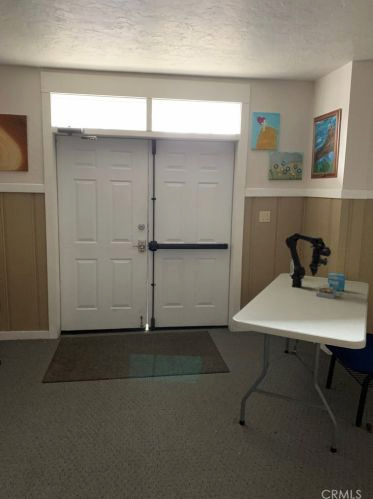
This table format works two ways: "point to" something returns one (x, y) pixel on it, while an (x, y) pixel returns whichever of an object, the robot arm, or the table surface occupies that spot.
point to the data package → (336, 281)
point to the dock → (326, 294)
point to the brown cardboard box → (326, 289)
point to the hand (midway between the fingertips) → (314, 275)
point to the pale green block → (326, 285)
